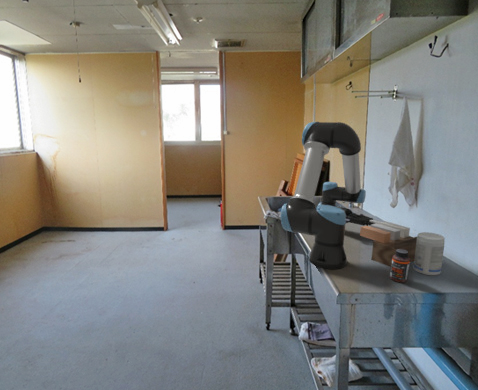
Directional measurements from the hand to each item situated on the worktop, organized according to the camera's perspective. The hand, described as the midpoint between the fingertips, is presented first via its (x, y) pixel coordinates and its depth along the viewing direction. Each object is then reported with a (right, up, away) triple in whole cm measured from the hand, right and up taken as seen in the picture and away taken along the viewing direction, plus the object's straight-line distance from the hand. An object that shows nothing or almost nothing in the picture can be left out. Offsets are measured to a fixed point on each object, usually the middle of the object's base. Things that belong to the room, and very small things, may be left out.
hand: (382, 225), depth 162 cm
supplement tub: (+7, -16, -25) cm, 30 cm away
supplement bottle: (-8, -17, -33) cm, 38 cm away
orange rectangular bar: (-8, -4, -13) cm, 16 cm away
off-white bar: (+3, -3, -5) cm, 7 cm away
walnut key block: (+1, -13, -13) cm, 18 cm away
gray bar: (-3, -4, -9) cm, 10 cm away
